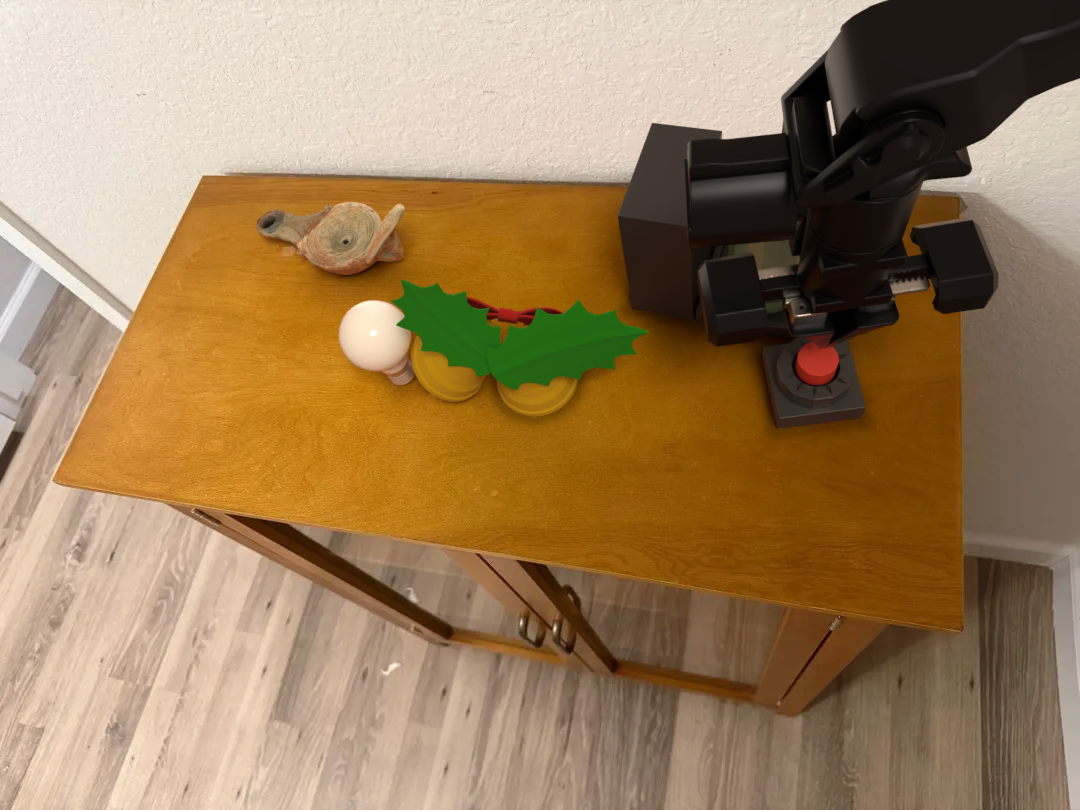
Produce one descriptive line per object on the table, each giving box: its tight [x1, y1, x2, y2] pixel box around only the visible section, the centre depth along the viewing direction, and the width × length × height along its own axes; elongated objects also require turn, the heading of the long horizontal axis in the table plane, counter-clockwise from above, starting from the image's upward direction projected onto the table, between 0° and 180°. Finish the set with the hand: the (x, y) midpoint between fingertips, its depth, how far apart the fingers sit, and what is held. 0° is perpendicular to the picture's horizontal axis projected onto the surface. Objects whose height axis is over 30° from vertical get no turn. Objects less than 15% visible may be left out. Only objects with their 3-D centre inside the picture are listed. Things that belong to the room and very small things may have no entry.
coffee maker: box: [617, 122, 796, 341], centre depth 67 cm, size 16×10×14 cm, turn 70°
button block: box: [761, 338, 867, 430], centre depth 66 cm, size 7×7×4 cm
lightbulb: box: [338, 299, 416, 386], centre depth 71 cm, size 6×6×11 cm
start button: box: [795, 342, 839, 385], centre depth 63 cm, size 3×3×2 cm
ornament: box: [390, 279, 650, 418], centre depth 68 cm, size 21×8×15 cm, turn 84°
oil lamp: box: [255, 201, 406, 276], centre depth 80 cm, size 9×21×10 cm, turn 69°
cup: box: [727, 240, 800, 314], centre depth 67 cm, size 7×7×12 cm
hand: (822, 342), depth 60 cm, fingers closed
